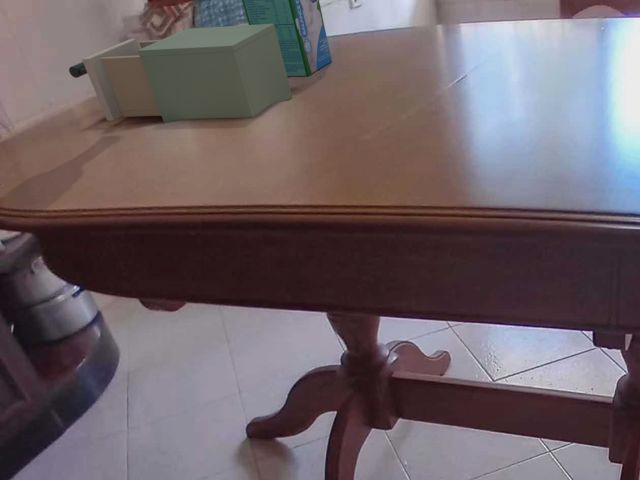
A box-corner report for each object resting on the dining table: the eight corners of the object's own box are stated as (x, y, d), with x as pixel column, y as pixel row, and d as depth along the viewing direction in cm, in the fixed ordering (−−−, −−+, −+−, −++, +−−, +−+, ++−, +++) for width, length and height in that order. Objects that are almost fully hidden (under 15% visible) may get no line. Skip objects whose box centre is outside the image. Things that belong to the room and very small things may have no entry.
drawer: (78, 121, 106) (52, 60, 100) (124, 97, 115) (102, 40, 109) (186, 118, 102) (164, 55, 96) (225, 94, 110) (207, 34, 105)
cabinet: (165, 126, 102) (137, 50, 96) (209, 99, 112) (186, 28, 106) (255, 124, 99) (232, 45, 93) (292, 96, 109) (274, 23, 103)
